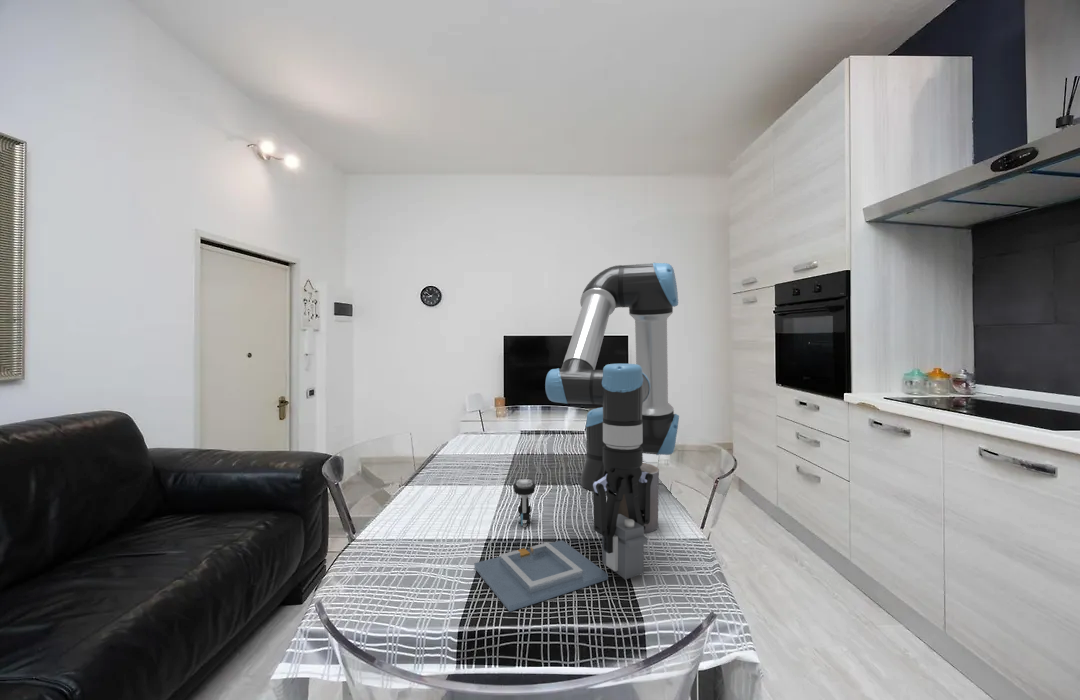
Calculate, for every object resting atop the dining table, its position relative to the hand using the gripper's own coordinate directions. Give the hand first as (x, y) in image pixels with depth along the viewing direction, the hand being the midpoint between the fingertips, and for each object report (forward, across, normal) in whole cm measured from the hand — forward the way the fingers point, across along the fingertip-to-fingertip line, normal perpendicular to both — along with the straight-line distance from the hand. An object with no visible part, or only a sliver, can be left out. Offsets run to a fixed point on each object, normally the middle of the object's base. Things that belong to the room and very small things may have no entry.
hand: (622, 564), depth 88 cm
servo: (+1, 0, 0) cm, 1 cm away
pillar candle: (+1, -16, -14) cm, 21 cm away
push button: (+1, +7, -28) cm, 29 cm away
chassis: (+1, +15, -6) cm, 16 cm away
